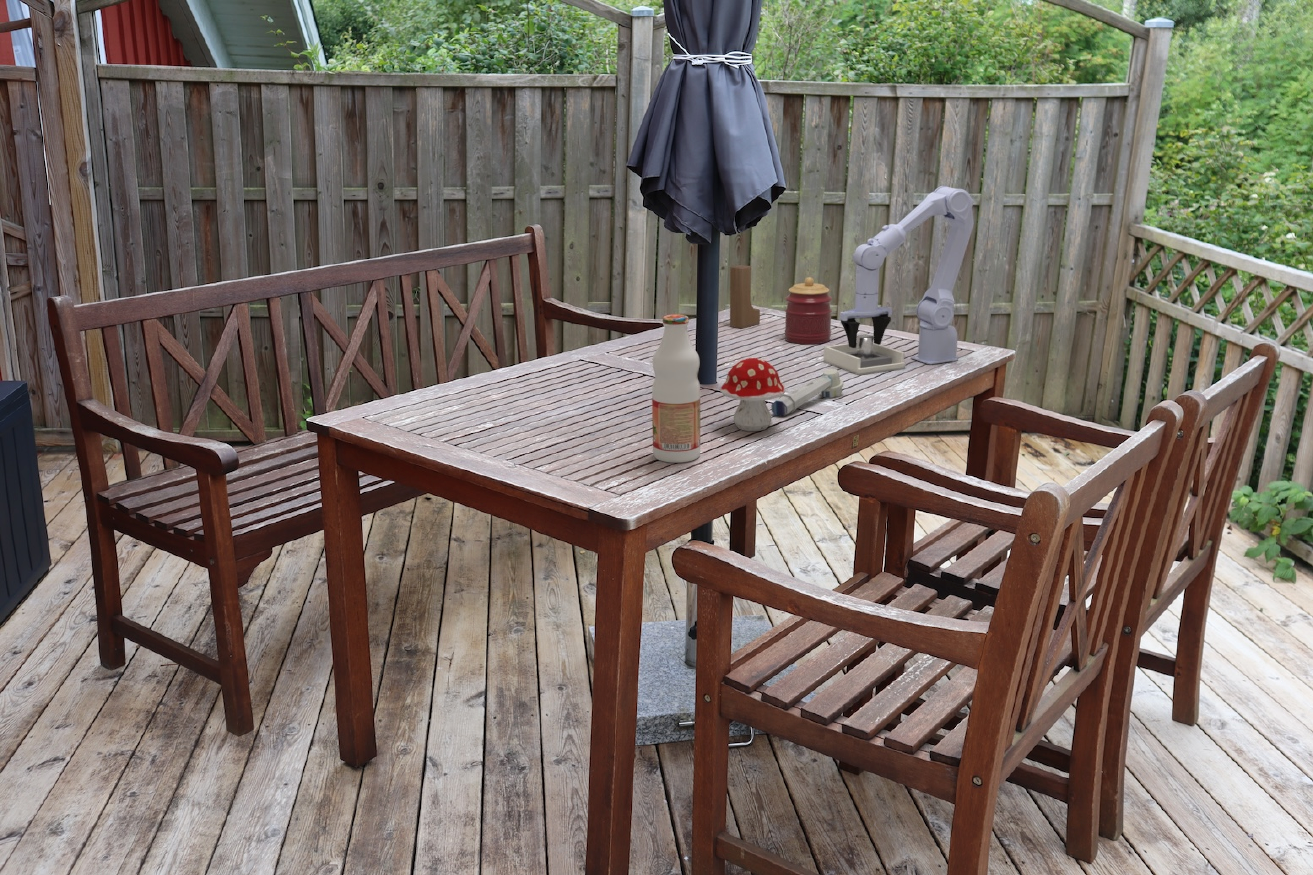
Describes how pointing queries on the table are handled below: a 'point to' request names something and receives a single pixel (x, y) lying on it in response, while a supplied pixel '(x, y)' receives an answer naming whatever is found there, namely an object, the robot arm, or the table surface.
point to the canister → (808, 313)
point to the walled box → (849, 361)
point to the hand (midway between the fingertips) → (864, 345)
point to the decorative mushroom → (752, 392)
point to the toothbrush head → (809, 393)
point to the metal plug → (864, 346)
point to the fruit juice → (676, 394)
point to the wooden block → (742, 298)
